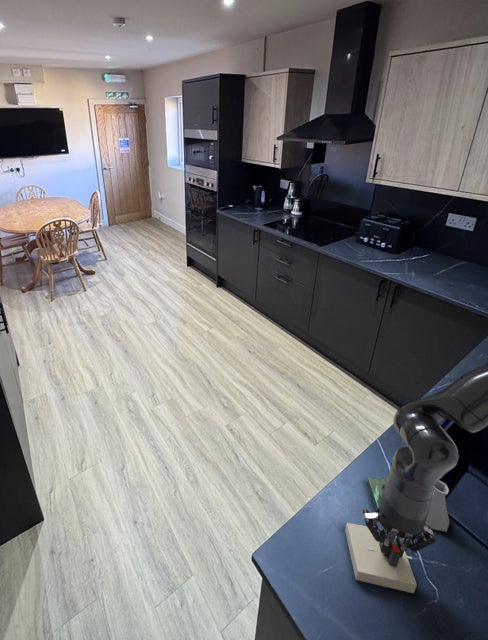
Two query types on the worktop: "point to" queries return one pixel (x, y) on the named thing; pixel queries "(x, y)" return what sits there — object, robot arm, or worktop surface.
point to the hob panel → (377, 561)
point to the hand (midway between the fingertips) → (389, 552)
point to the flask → (438, 508)
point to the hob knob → (394, 554)
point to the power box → (376, 490)
